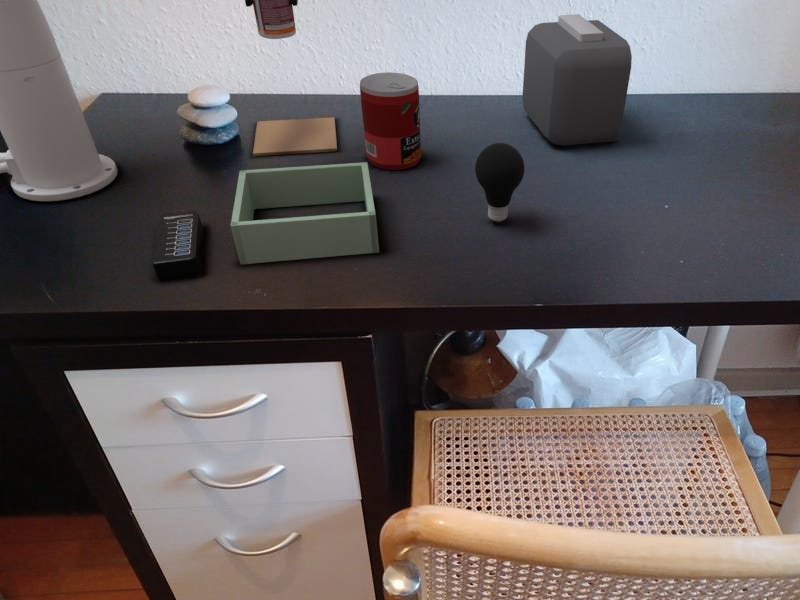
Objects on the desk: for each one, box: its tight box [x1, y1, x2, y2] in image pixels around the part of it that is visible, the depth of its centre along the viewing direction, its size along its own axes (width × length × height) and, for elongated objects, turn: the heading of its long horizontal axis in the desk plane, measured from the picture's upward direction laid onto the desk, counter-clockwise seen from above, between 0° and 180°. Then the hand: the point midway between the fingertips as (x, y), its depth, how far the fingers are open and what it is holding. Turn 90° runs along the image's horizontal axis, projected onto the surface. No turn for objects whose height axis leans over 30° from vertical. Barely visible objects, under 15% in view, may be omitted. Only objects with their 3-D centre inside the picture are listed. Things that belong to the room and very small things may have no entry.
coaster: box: [252, 116, 338, 157], centre depth 101 cm, size 12×12×1 cm
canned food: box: [359, 72, 422, 171], centre depth 92 cm, size 8×8×11 cm
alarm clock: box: [521, 13, 633, 146], centre depth 100 cm, size 16×11×16 cm
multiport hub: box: [151, 210, 204, 282], centre depth 75 cm, size 4×11×2 cm, turn 16°
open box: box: [230, 161, 380, 265], centre depth 79 cm, size 16×14×5 cm
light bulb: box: [474, 142, 525, 224], centre depth 79 cm, size 6×6×10 cm
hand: (272, 1), depth 83 cm, fingers closed on pill bottle, 4 cm apart
